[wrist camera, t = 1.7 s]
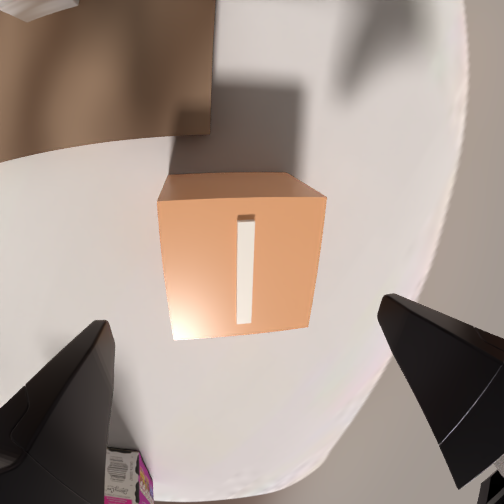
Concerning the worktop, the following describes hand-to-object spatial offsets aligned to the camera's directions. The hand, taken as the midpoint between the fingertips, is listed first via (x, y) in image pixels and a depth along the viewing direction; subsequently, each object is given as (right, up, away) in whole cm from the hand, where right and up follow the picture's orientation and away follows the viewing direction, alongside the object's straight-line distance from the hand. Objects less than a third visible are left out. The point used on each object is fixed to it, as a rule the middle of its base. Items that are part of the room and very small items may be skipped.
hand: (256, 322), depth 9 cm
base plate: (-10, +15, 0) cm, 18 cm away
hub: (-1, +3, +7) cm, 8 cm away
